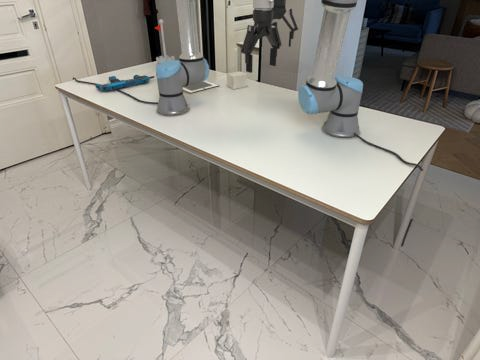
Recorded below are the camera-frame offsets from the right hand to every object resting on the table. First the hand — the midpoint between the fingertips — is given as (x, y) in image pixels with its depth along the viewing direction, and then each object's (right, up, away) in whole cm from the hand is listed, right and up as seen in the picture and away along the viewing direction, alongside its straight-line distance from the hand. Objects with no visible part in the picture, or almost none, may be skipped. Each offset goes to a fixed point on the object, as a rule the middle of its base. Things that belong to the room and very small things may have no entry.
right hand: (275, 46), depth 164 cm
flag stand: (-70, +17, +78) cm, 106 cm away
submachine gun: (-88, -6, +43) cm, 98 cm away
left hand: (-9, -21, -30) cm, 37 cm away
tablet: (-48, -6, +43) cm, 65 cm away
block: (-19, -9, +39) cm, 44 cm away
